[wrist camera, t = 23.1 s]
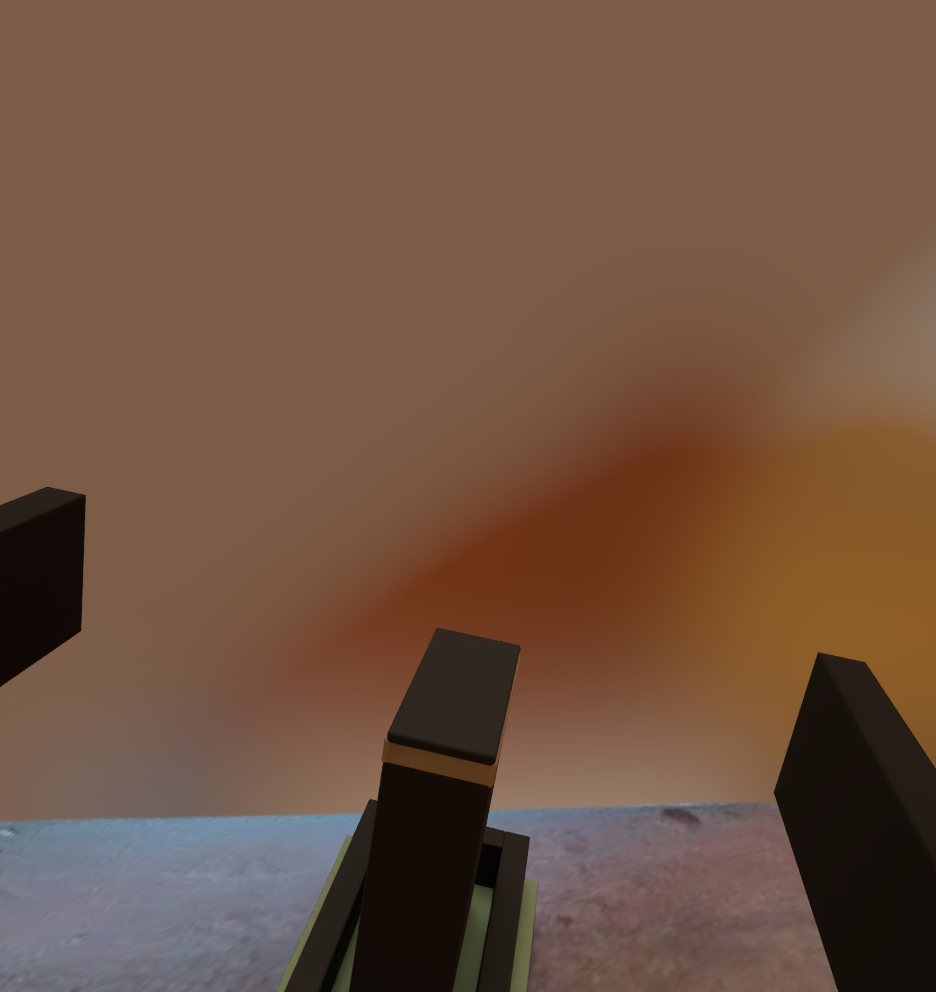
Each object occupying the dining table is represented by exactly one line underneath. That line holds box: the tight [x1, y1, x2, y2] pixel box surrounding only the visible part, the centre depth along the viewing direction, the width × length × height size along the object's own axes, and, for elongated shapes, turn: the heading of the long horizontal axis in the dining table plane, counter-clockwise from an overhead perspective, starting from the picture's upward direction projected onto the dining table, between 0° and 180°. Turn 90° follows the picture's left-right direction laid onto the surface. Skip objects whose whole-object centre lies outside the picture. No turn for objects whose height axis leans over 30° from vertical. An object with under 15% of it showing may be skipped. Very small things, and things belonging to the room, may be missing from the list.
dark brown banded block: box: [349, 628, 521, 992], centre depth 27 cm, size 7×3×11 cm, turn 171°
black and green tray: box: [276, 799, 538, 992], centre depth 29 cm, size 11×8×4 cm
